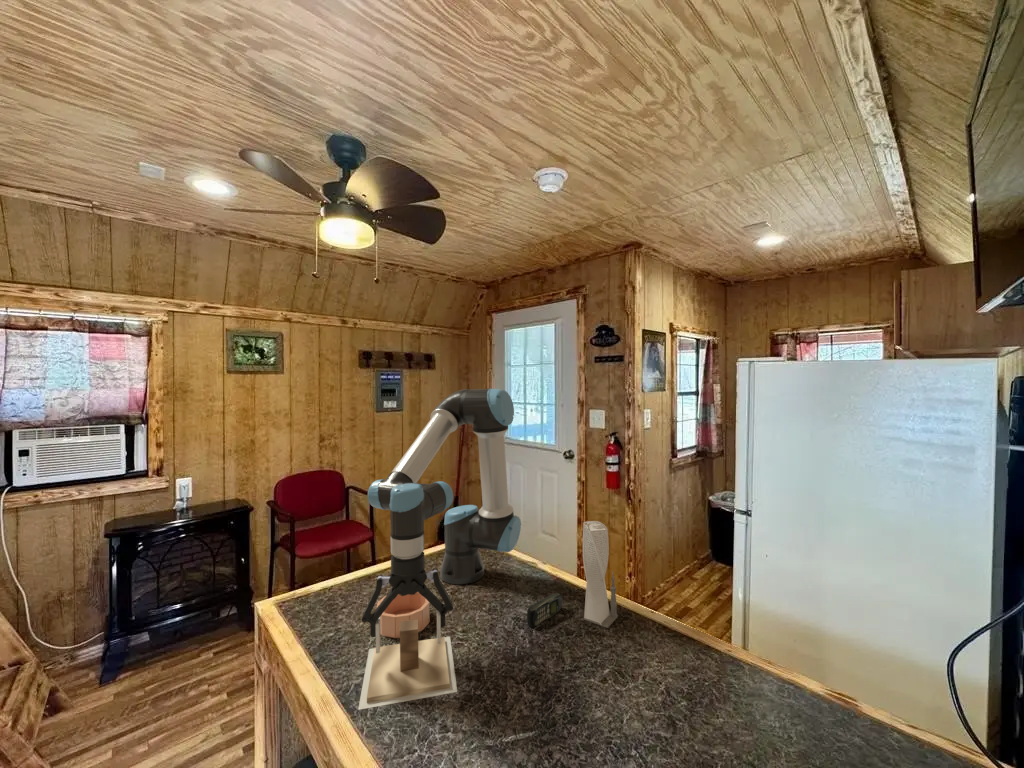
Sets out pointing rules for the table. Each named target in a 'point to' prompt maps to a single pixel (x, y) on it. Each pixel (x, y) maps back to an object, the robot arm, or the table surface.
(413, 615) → the bowl
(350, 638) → the table surface
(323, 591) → the table surface
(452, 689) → the mat
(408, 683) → the board
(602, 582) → the skyscraper
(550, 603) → the mobile phone
